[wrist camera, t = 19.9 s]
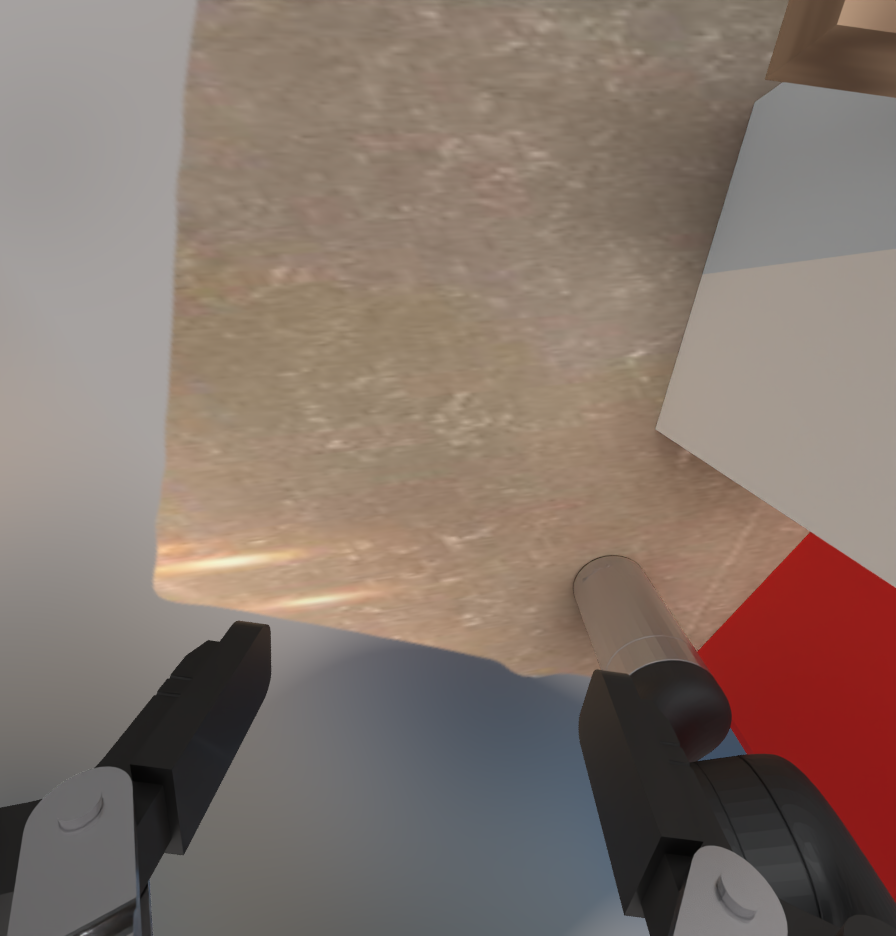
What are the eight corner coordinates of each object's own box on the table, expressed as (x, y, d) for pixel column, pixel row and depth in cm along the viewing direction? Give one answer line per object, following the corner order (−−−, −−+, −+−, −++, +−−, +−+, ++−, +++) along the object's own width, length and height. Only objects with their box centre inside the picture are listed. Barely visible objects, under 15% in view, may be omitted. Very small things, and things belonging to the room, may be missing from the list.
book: (835, 505, 51) (1350, 786, 21) (887, 535, 52) (1448, 841, 22) (685, 663, 60) (902, 1018, 30) (732, 686, 61) (986, 1050, 31)
